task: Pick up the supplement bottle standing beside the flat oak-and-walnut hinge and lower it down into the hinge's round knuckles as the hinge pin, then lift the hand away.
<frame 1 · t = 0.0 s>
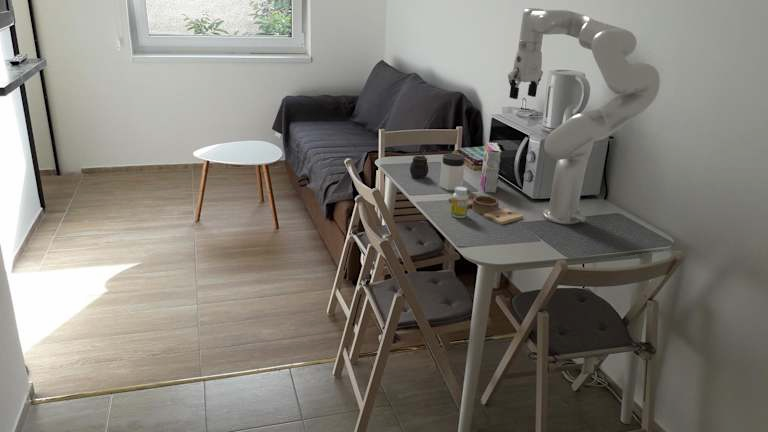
hand: (522, 97, 221), 37 cm above the table, tool pointing down, fingers open, 9 cm apart
mate gourd: (418, 177, 250), on the table
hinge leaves: (484, 209, 221), on the table
supplement bottle: (458, 215, 214), on the table
jar: (450, 187, 241), on the table
candy bar box: (487, 188, 242), on the table
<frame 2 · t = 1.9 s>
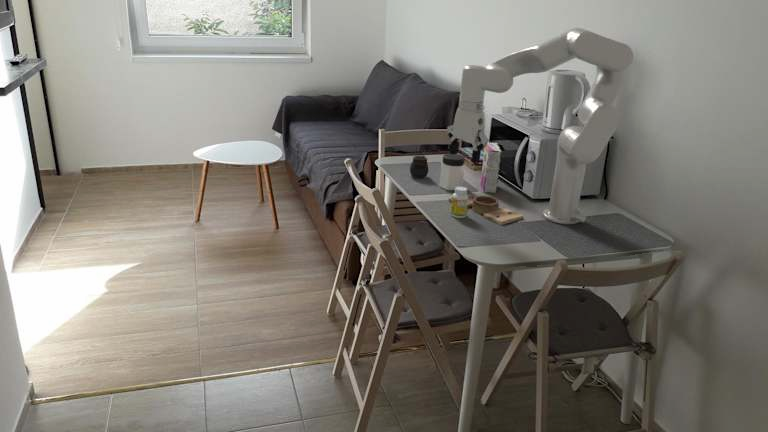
hand: (464, 157, 207), 20 cm above the table, tool pointing down, fingers open, 9 cm apart
nothing on the table moved.
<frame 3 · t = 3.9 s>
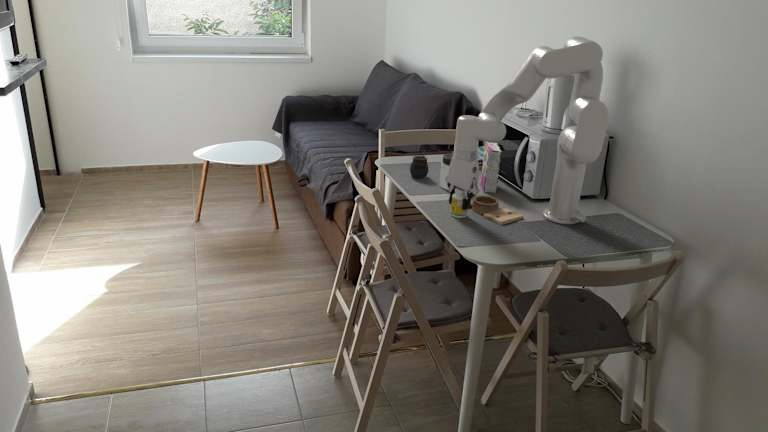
hand: (459, 205, 213), 4 cm above the table, tool pointing down, fingers closed on supplement bottle, 5 cm apart
supplement bottle: (458, 215, 214), on the table, touching gripper
everything else where it was.
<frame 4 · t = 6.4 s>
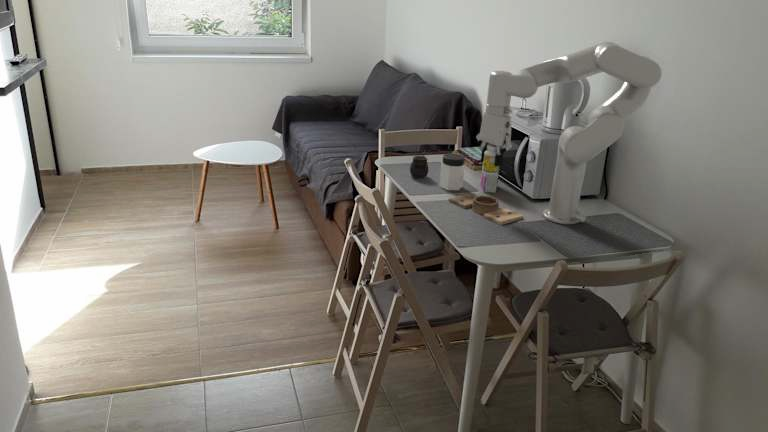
hand: (491, 162, 214), 17 cm above the table, tool pointing down, fingers closed on supplement bottle, 5 cm apart
supplement bottle: (490, 173, 216), point 13 cm above the table, touching gripper
everything else where it was.
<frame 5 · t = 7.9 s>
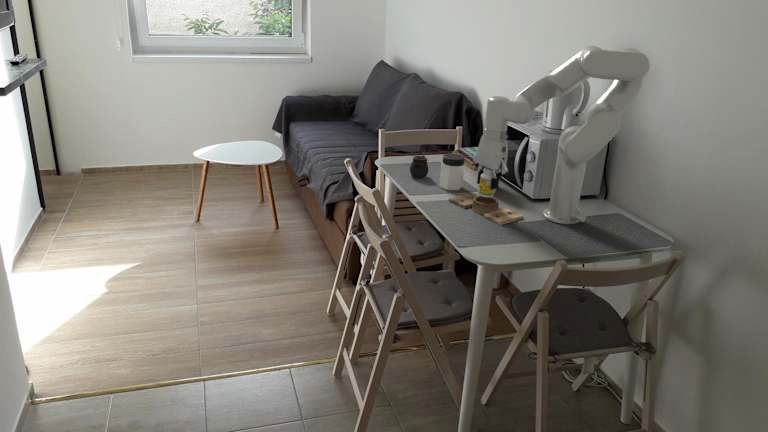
hand: (487, 185, 217), 9 cm above the table, tool pointing down, fingers closed on supplement bottle, 5 cm apart
supplement bottle: (485, 195, 219), point 5 cm above the table, touching gripper
everything else where it was.
when the fingers open (5 cm above the table, at t = 9.2 s): supplement bottle drops 1 cm, resting in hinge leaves.
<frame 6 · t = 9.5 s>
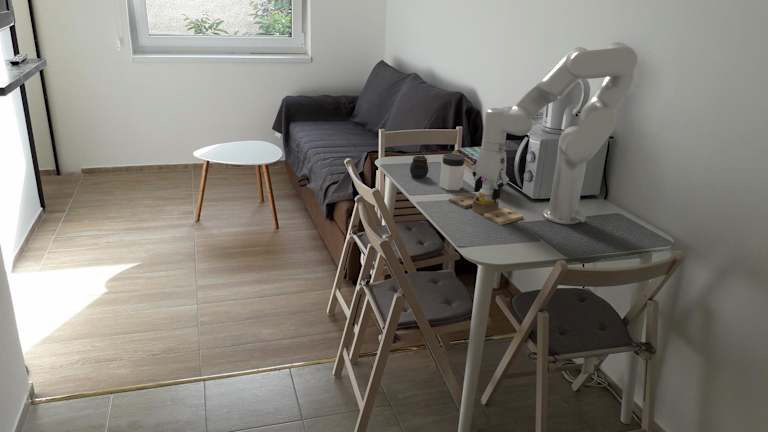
hand: (486, 194, 219), 5 cm above the table, tool pointing down, fingers open, 7 cm apart
supplement bottle: (485, 210, 221), resting in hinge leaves
everything else where it was.
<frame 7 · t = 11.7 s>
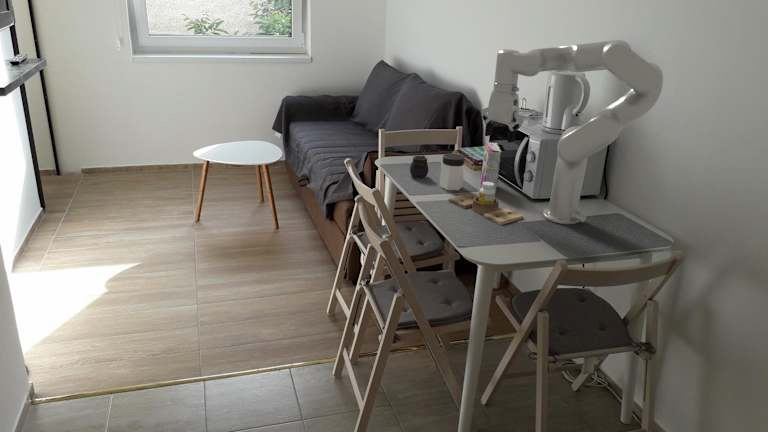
hand: (499, 138, 217), 24 cm above the table, tool pointing down, fingers open, 9 cm apart
nothing on the table moved.
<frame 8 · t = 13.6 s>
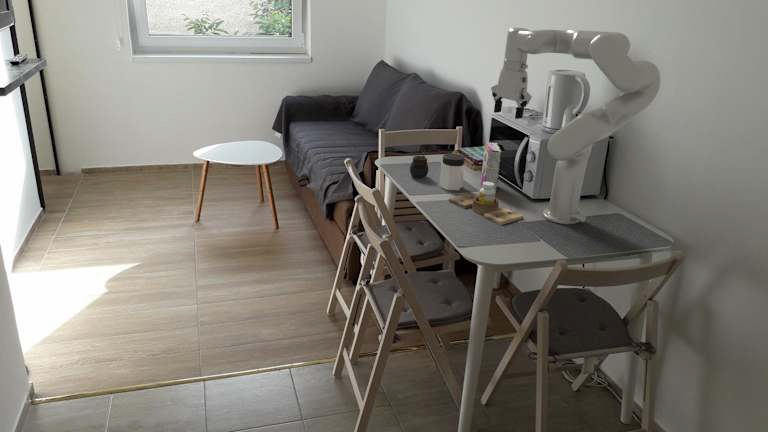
hand: (507, 115, 223), 30 cm above the table, tool pointing down, fingers open, 9 cm apart
nothing on the table moved.
at the end: supplement bottle 0.1 cm off-centre on the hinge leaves, point 0.0 cm above the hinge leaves's base; supplement bottle tilted 0°; the gripper is holding nothing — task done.
